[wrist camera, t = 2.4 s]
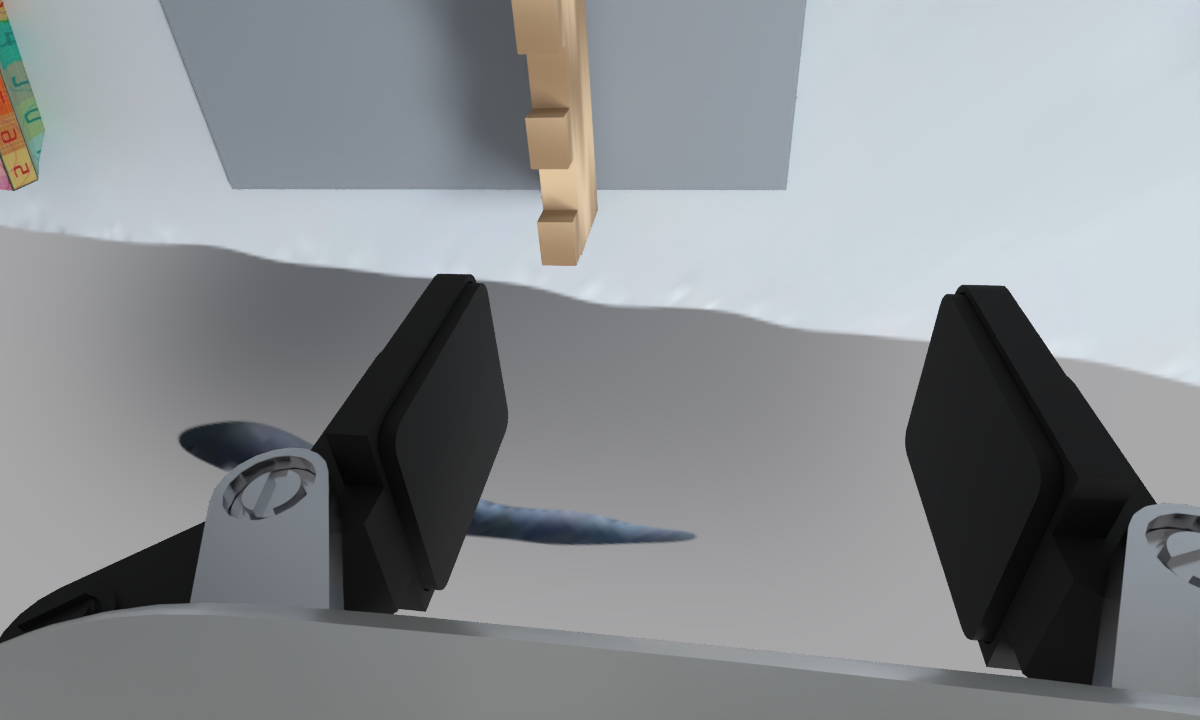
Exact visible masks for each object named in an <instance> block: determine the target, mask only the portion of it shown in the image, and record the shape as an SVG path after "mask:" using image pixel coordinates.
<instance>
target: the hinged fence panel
mask: <svg viewBox="0 0 1200 720" xmlns="http://www.w3.org/2000/svg"><path fill="white" fill-rule="evenodd" d="M511 2H512V10H513V19H514V27H515V36H516V45H517V53H518V54H526V55H527V64H528V73H529V82H530V91H531V100H532V110H531V111H530V112H529V114H528V115H527V116H526V117H525V122H526V131H527V139H528V148H529V156H530V165H531V169H539V174H540V183H541V192H542V201H543V212H542V214H541V216H540V218H539V220H538V222H537V225H538V234H539V242H540V251H541V259H542V265H559V266H576V265H577V262H578V260H579V257H580V255H582V252H583V249H584V246H585V244H586V241H587V238H588V235H589V233H590V230H591V227H592V224H593V222H594V219H595V216H596V213H597V211H598V206H597V190H596V173H595V157H594V140H593V124H592V107H591V90H590V74H589V57H588V41H587V24H586V8H585V0H511Z"/></svg>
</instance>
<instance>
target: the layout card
mask: <svg viewBox="0 0 1200 720" xmlns="http://www.w3.org/2000/svg"><path fill="white" fill-rule="evenodd" d="M160 1H161V3H162V6H163V9H164V11H165V14H166V17H167V19H168V22H169V24H170V27H171V30H172V32H173V35H174V37H175V40H176V43H177V45H178V48H179V51H180V53H181V56H182V58H183V61H184V64H185V66H186V69H187V71H188V74H189V77H190V79H191V82H192V85H193V87H194V90H195V92H196V95H197V98H198V100H199V103H200V106H201V108H202V111H203V113H204V116H205V119H206V121H207V124H208V126H209V129H210V132H211V134H212V137H213V140H214V142H215V145H216V147H217V150H218V153H219V155H220V158H221V160H222V163H223V166H224V168H225V171H226V174H227V176H228V179H229V181H230V184H231V187H232V189H537V190H541V183H540V174H539V169H531V165H530V156H529V148H528V139H527V131H526V122H525V117H526V116H527V115H528V114H529V112H530V111H531V110H532V100H531V91H530V82H529V73H528V64H527V55H526V54H518V53H517V45H516V36H515V27H514V19H513V10H512V2H511V0H160ZM585 8H586V24H587V41H588V57H589V74H590V90H591V107H592V124H593V140H594V157H595V173H596V190H786V186H787V177H788V168H789V158H790V149H791V140H792V130H793V121H794V112H795V102H796V93H797V84H798V74H799V65H800V56H801V46H802V37H803V28H804V18H805V9H806V0H585Z"/></svg>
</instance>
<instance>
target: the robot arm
mask: <svg viewBox="0 0 1200 720" xmlns="http://www.w3.org/2000/svg"><path fill="white" fill-rule="evenodd" d="M507 423H508V409H507V403H506V396H505V390H504V385H503V379H502V373H501V368H500V361H499V356H498V350H497V344H496V339H495V332H494V327H493V321H492V315H491V309H490V303H489V298H488V292H487V288H486V286H485V285H484V284H483V283H476V280H475V278H474V276H472V275H471V274H437V275H436V276H435V277H434V278H433V280H432V281H431V283H430V284H429V286H428V287H427V289H426V290H425V291H424V292H423V294H422V295H421V297H420V298H419V300H418V301H417V302H416V304H415V305H414V307H413V308H412V310H411V311H410V312H409V314H408V315H407V317H406V318H405V319H404V321H403V322H402V324H401V325H400V327H399V328H398V330H397V331H396V332H395V334H394V335H393V337H392V338H391V339H390V341H389V342H388V344H387V345H386V346H385V348H384V349H383V351H382V352H381V353H380V354H379V355H378V356H377V357H376V359H375V360H374V361H373V363H372V364H371V366H370V367H369V368H368V370H367V371H366V373H365V374H364V376H363V377H362V378H361V380H360V381H359V383H358V384H357V385H356V387H355V388H354V390H353V391H352V392H351V394H350V395H349V397H348V398H347V400H346V401H345V402H344V404H343V405H342V407H341V408H340V410H339V411H338V412H337V414H336V415H335V417H334V418H333V419H332V421H331V422H330V424H329V425H328V426H327V428H326V429H325V431H324V432H323V434H322V435H321V436H320V438H319V439H318V441H317V442H316V443H315V445H314V446H313V448H312V449H311V450H307V449H301V448H286V449H279V450H273V451H270V452H267V453H264V454H261V455H258V456H255V457H253V458H251V459H250V460H248V461H246V462H244V463H242V464H240V465H239V466H237V467H236V468H235V469H233V470H232V471H231V472H230V473H228V474H227V475H226V476H225V477H224V478H223V479H222V480H221V482H220V483H219V484H218V485H217V486H216V488H215V489H214V491H213V494H212V496H211V499H210V501H209V506H208V511H207V516H206V521H205V522H203V523H201V524H199V525H196V526H194V527H192V528H190V529H187V530H185V531H183V532H181V533H179V534H177V535H174V536H172V537H170V538H168V539H166V540H164V541H161V542H159V543H157V544H155V545H153V546H150V547H148V548H146V549H144V550H142V551H140V552H137V553H135V554H133V555H131V556H129V557H127V558H125V559H122V560H120V561H118V562H116V563H114V564H112V565H109V566H107V567H105V568H103V569H101V570H99V571H96V572H94V573H92V574H90V575H88V576H85V577H83V578H81V579H79V580H77V581H74V582H72V583H70V584H68V585H66V586H64V587H61V588H59V589H58V590H56V591H54V592H52V593H50V594H49V595H47V596H45V597H43V598H41V599H40V600H38V601H37V602H36V603H34V604H33V605H32V606H30V607H29V608H28V609H27V610H25V611H24V612H23V613H21V614H20V615H19V616H18V617H17V618H16V619H15V620H14V621H13V622H12V623H11V624H10V626H9V627H8V628H7V629H6V630H5V631H4V632H3V634H2V636H1V637H0V720H1200V508H1199V507H1195V506H1191V505H1187V504H1172V503H1161V504H1157V503H1156V502H1155V500H1154V499H1153V497H1152V496H1151V495H1150V493H1149V492H1148V490H1147V489H1146V487H1145V486H1144V484H1143V483H1142V482H1141V480H1140V479H1139V477H1138V476H1137V474H1136V473H1135V471H1134V470H1133V468H1132V467H1131V465H1130V464H1129V463H1128V461H1127V459H1126V458H1125V457H1124V455H1123V454H1122V452H1121V451H1120V449H1119V448H1118V446H1117V445H1116V443H1115V442H1114V441H1113V439H1112V438H1111V436H1110V435H1109V433H1108V432H1107V430H1106V429H1105V427H1104V426H1103V424H1102V423H1101V422H1100V420H1099V419H1098V417H1097V416H1096V414H1095V413H1094V411H1093V410H1092V408H1091V407H1090V405H1089V404H1088V402H1087V401H1086V400H1085V398H1084V397H1083V395H1082V394H1081V392H1080V391H1079V389H1078V388H1077V387H1076V385H1075V383H1073V381H1072V380H1071V379H1070V378H1069V377H1067V376H1066V374H1065V373H1064V371H1063V370H1062V368H1061V367H1060V366H1059V364H1058V362H1057V361H1056V360H1055V358H1054V357H1053V355H1052V354H1051V352H1050V351H1049V349H1048V348H1047V346H1046V345H1045V343H1044V342H1043V340H1042V339H1041V337H1040V336H1039V334H1038V333H1037V332H1036V330H1035V329H1034V327H1033V326H1032V324H1031V323H1030V321H1029V320H1028V318H1027V317H1026V315H1025V314H1024V312H1023V311H1022V309H1021V308H1020V307H1019V305H1018V304H1017V302H1016V301H1015V299H1014V298H1013V296H1012V295H1011V293H1010V292H1009V290H1008V289H1007V288H1006V287H1005V286H990V285H961V286H960V287H959V288H958V289H957V291H956V293H955V294H946V295H945V296H944V297H943V299H942V301H941V304H940V307H939V311H938V315H937V319H936V322H935V326H934V330H933V333H932V337H931V341H930V344H929V348H928V352H927V355H926V359H925V363H924V367H923V370H922V374H921V378H920V381H919V385H918V389H917V392H916V396H915V400H914V404H913V407H912V411H911V415H910V418H909V422H908V426H907V430H906V438H905V446H906V452H907V456H908V459H909V462H910V466H911V469H912V472H913V475H914V478H915V482H916V485H917V488H918V491H919V494H920V497H921V501H922V504H923V507H924V510H925V513H926V516H927V520H928V523H929V526H930V529H931V532H932V535H933V538H934V542H935V545H936V548H937V551H938V554H939V558H940V561H941V564H942V567H943V570H944V573H945V577H946V579H947V583H948V586H949V589H950V592H951V596H952V599H953V602H954V605H955V608H956V611H957V615H958V618H959V621H960V624H961V627H962V630H963V632H964V634H965V636H966V637H967V638H968V639H970V640H978V642H979V645H980V648H981V651H982V655H983V658H984V661H985V664H986V667H993V668H1003V669H1013V670H1022V673H1023V674H1024V675H1025V676H1027V677H1028V678H1023V677H1013V676H1004V675H995V674H986V673H976V672H966V671H957V670H947V669H937V668H929V667H919V666H910V665H899V664H890V663H880V662H871V661H862V660H852V659H843V658H833V657H824V656H814V655H804V654H794V653H785V652H774V651H765V650H755V649H745V648H735V647H725V646H715V645H705V644H695V643H685V642H675V641H665V640H655V639H645V638H634V637H624V636H614V635H604V634H594V633H584V632H574V631H563V630H553V629H543V628H532V627H521V626H511V625H500V624H490V623H479V622H469V621H457V620H447V619H436V618H426V617H415V616H405V615H394V613H395V612H397V611H398V609H405V610H416V611H426V610H427V607H428V605H429V602H430V600H431V597H432V595H433V592H434V590H442V589H444V588H445V586H446V585H447V582H448V580H449V577H450V575H451V572H452V570H453V567H454V564H455V562H456V559H457V557H458V554H459V552H460V549H461V546H462V544H463V541H464V539H465V536H466V533H467V531H468V528H469V526H470V523H471V520H472V518H473V515H474V513H475V510H476V507H477V505H478V502H479V500H480V497H481V494H482V492H483V489H484V487H485V484H486V481H487V479H488V476H489V473H490V471H491V468H492V466H493V463H494V460H495V458H496V455H497V453H498V450H499V447H500V444H501V442H502V439H503V437H504V434H505V432H506V428H507Z"/></svg>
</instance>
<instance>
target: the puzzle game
mask: <svg viewBox="0 0 1200 720" xmlns="http://www.w3.org/2000/svg"><path fill="white" fill-rule="evenodd" d="M44 130H45V129H44V126H43V123H42V120H41V117H40V113H39V110H38V107H37V104H36V101H35V98H34V95H33V92H32V89H31V86H30V83H29V80H28V77H27V74H26V71H25V68H24V65H23V62H22V59H21V56H20V53H19V50H18V47H17V44H16V41H15V38H14V35H13V32H12V29H11V26H10V23H9V20H8V17H7V14H6V11H5V8H4V5H3V2H2V0H0V189H3V190H12V191H15V190H17V189H19V188H22V187H24V186H26V185H28V184H30V183H33V182H35V181H37V180H38V173H39V158H40V152H41V147H42V141H43V136H44Z"/></svg>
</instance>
